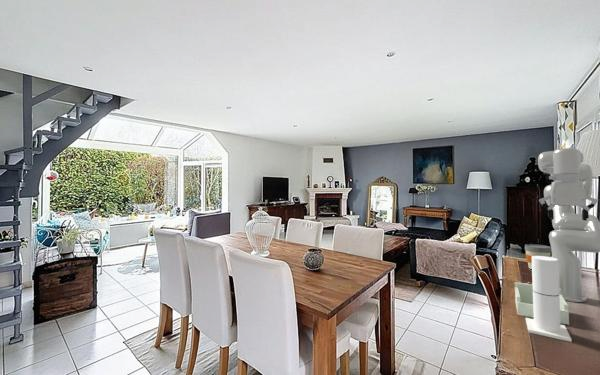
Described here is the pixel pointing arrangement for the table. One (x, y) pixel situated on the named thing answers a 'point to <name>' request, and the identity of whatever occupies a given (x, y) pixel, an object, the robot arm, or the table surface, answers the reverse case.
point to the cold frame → (526, 302)
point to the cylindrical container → (546, 293)
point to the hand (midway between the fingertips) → (567, 219)
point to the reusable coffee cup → (536, 252)
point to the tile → (558, 335)
